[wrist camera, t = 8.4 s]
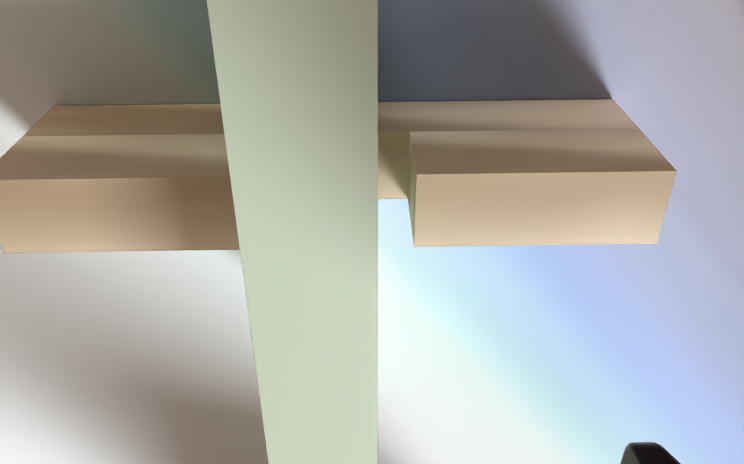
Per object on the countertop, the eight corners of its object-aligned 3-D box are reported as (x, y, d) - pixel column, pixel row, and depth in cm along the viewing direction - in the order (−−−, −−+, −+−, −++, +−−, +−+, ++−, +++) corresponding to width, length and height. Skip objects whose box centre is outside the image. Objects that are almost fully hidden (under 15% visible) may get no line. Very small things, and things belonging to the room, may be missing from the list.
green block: (370, 317, 23) (376, 606, 15) (313, 318, 23) (288, 607, 15) (367, -138, 16) (378, -78, 7) (283, -138, 16) (195, -77, 7)
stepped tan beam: (600, 161, 20) (657, 243, 16) (71, 168, 20) (4, 252, 16) (613, 99, 19) (676, 170, 15) (53, 105, 19) (-23, 180, 15)
